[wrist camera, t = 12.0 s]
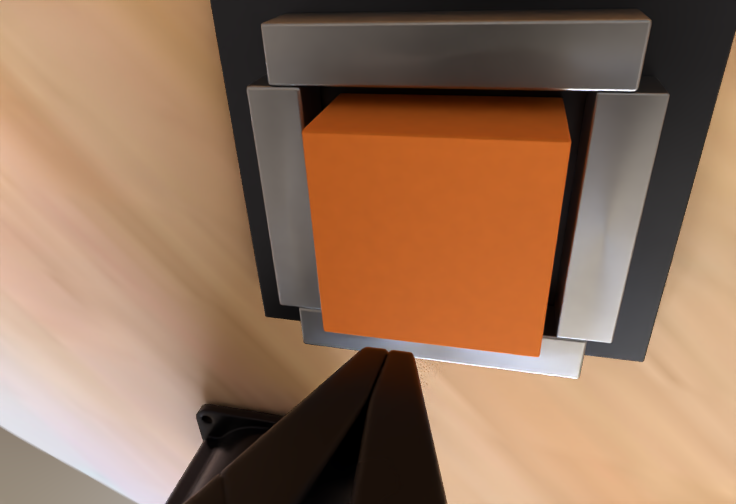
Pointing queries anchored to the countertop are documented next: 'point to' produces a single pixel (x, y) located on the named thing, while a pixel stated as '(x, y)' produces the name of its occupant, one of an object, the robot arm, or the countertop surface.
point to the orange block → (437, 216)
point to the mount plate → (491, 78)
